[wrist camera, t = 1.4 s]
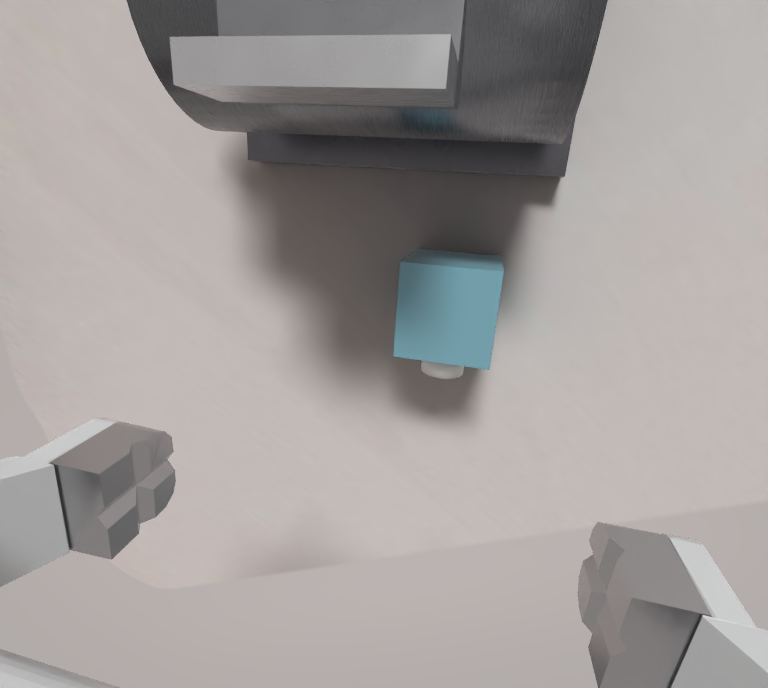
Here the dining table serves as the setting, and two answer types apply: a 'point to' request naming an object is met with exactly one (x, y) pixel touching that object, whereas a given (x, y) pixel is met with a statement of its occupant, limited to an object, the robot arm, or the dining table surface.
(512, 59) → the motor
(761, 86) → the dining table surface
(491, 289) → the blue block
